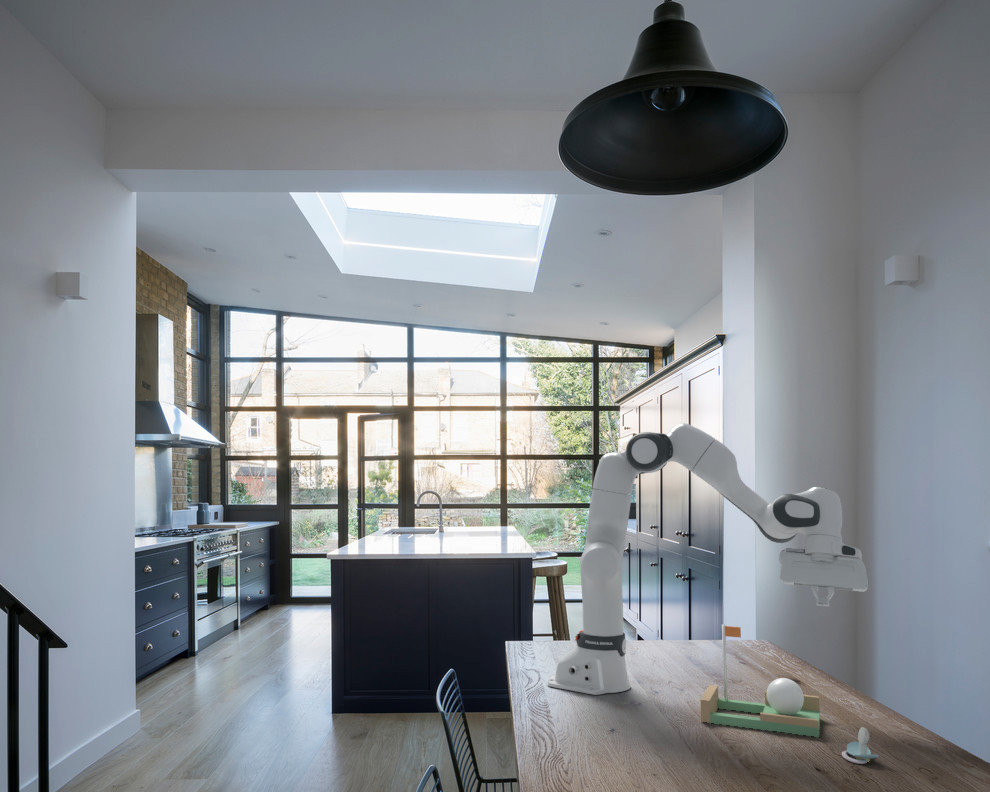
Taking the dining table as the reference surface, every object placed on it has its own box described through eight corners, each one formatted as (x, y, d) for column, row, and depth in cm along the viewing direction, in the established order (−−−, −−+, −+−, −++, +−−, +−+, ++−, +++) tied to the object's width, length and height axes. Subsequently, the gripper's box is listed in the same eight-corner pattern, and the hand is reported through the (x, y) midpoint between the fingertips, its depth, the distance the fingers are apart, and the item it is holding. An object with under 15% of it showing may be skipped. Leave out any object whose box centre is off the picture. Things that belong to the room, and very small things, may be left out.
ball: (766, 717, 167) (764, 680, 168) (768, 707, 174) (767, 672, 175) (804, 722, 164) (802, 684, 164) (805, 711, 171) (803, 676, 172)
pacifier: (851, 767, 144) (882, 766, 143) (848, 734, 144) (879, 733, 144) (836, 753, 151) (865, 753, 150) (833, 721, 151) (863, 721, 151)
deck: (701, 722, 170) (698, 633, 172) (710, 705, 182) (707, 622, 185) (819, 737, 159) (814, 642, 162) (820, 718, 172) (815, 630, 174)
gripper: (778, 544, 189) (776, 598, 184) (867, 550, 180) (868, 607, 174) (781, 550, 194) (779, 603, 189) (867, 557, 185) (868, 612, 179)
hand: (822, 605), depth 181 cm, fingers closed
